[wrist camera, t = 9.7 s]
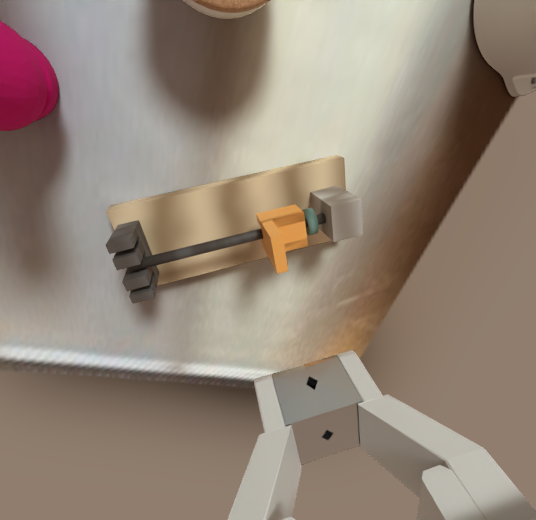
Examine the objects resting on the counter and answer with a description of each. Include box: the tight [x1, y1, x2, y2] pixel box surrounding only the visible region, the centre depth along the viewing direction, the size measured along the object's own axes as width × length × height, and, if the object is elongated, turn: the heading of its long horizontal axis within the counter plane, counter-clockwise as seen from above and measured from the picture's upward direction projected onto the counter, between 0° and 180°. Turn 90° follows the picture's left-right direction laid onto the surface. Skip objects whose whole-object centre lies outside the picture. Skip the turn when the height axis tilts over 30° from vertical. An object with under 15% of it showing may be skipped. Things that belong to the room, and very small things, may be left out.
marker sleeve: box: [256, 205, 308, 274], centre depth 28 cm, size 4×3×6 cm
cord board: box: [106, 155, 363, 303], centre depth 31 cm, size 24×9×8 cm, turn 100°
